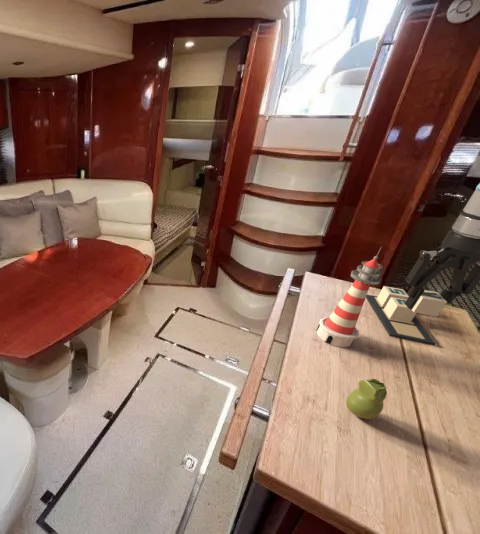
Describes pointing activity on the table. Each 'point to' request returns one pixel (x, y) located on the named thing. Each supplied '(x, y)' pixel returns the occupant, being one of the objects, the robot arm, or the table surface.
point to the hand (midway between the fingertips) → (421, 308)
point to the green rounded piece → (367, 399)
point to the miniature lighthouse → (350, 307)
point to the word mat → (400, 325)
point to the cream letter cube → (429, 303)
